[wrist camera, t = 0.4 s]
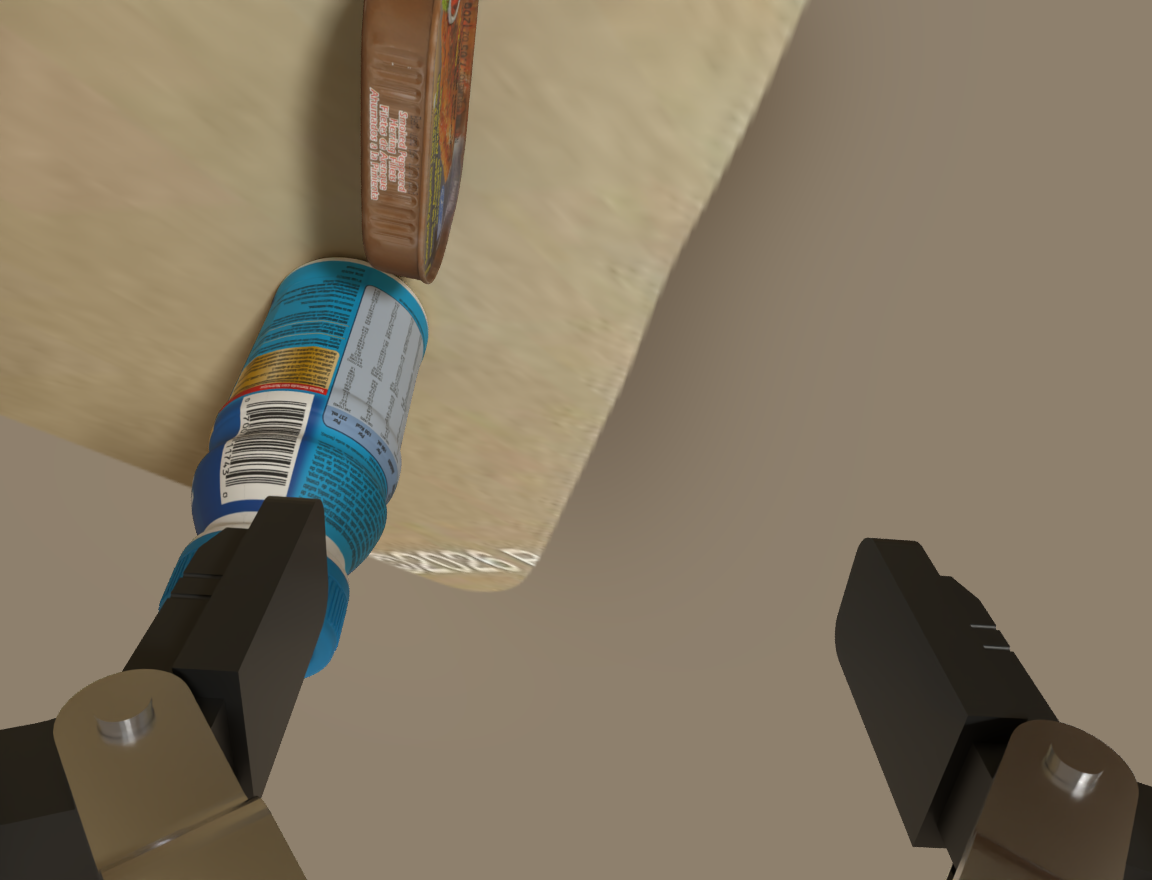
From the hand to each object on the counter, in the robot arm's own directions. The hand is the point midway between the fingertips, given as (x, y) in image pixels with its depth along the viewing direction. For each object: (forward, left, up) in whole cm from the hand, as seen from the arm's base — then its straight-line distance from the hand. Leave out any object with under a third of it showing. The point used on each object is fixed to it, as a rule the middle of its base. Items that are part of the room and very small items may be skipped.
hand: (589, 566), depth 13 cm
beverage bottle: (+10, -21, -29) cm, 37 cm away
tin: (+1, -9, -30) cm, 31 cm away
